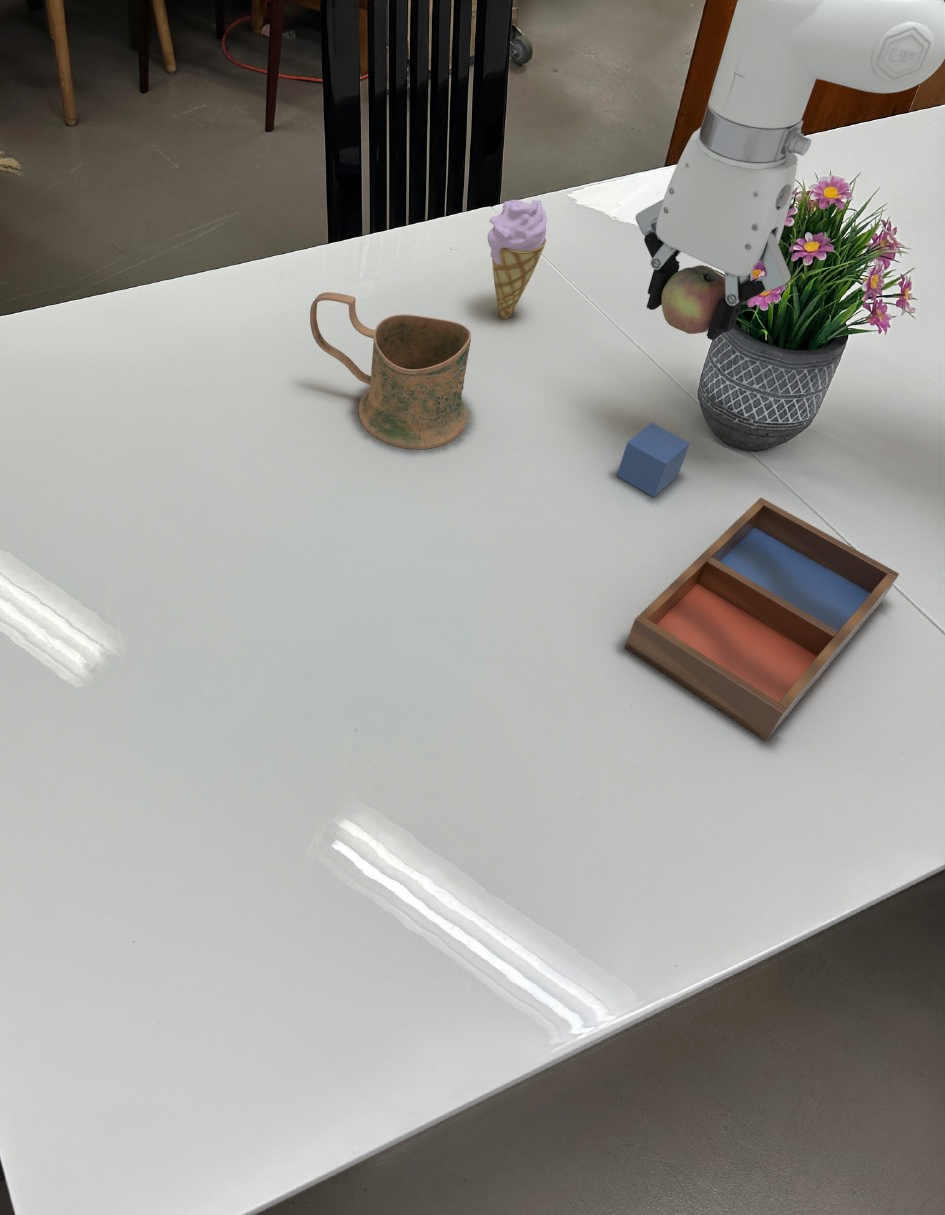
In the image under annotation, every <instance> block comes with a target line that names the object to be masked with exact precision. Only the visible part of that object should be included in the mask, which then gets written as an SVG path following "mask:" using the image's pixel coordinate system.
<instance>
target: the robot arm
mask: <svg viewBox="0 0 945 1215" xmlns="http://www.w3.org/2000/svg"><path fill="white" fill-rule="evenodd" d="M725 40H726V41H725V43H724V47H723V51H722V54H721V58H720V60H719V65H718V67H717V71H716V74H715V78H714V81H713V84H712V88H711V92H710V95H709V98H708V101H707V105H706V108H705V113H704V116H703V118H702V123H701V126H700V127H699V128H697V130H695V131H694V132H692V134H691V136H690V138H689V139H688V142H687V143H686V145H685V147H684V149H683V151H682V153H681V155H680V158H679V160H678V161H677V163H676V166H675V169H674V171H673V173H672V175H671V177H670V180H669V183H668V186H667V187H666V191H665V194H664V197H663V198H662V199H661V200H658V201H657V202H655V203H653V204H652V205H650V206H648V207H646V208H644V209H642V210H640V211H639V212H637V213H636V215H635V221H636V224H637V226H638V227H639V230H640V232H641V235H643V236H644V239H643V241H644V245H645V247H646V249H647V250H648V254H649V255H650V257H651V259H650V262H649V264H650V267H651V268H652V269H653V271H652V275H651V278H650V282H649V285H648V288H647V294H648V295H649V297H648V299H647V304H646V309H649V311H653V310H654V311H655V310H656V309H657V308H659V307H661V306H662V292H663V289H664V287H665V285H666V283H667V282H668V280H669V279H670V278H671V277H672V276H673V275H674V274H675V273H676V272H678V271H680V267H681V266H680V261H679V260H677V257H678V256H679V255H680V254H681V253H683V254H685V255H687V256H689V257H691V258H693V259H696V260H698V261H700V262H702V263H705V264H707V265H709V266H712V267H713V268H715V269H718V270H720V271H722V272H724V278H725V297H724V298H723V299H721V300H720V301H719V302H718V304H717V306H716V309H715V312H714V315H713V318H712V321H711V324H710V326H709V329H708V331H706V332H707V333H706V337H707V339H709V340H711V341H715V340H716V339H717V338H719V337H720V336H721V335H722V334H724V333H730V331H732V329H734V327H735V325H736V323H737V321H738V318H739V316H740V312H741V309H742V306H743V305H744V301H748V300H749V299H752V298H755V297H758V296H759V295H761V294H764V293H767V292H770V291H772V290H776V289H778V288H781V287H783V286H784V285H786V283H788V282H790V280H791V278H792V275H791V273H790V270H789V268H788V265H787V263H786V260H785V258H784V255H783V253H782V250H781V248H780V246H779V243H780V240H781V237H782V234H783V232H784V229H785V228H784V227H785V224H786V221H787V216H788V213H789V210H790V206H791V201H792V197H793V192H794V187H795V182H796V176H797V168H798V156H797V155H799V156H801V157H802V156H803V157H804V156H805V155H806V154H807V152H808V151H809V149H810V148H811V144H812V139H811V138H809V137H807V136H805V135H804V134H803V133H802V127H803V124H804V120H802V119H803V116H804V114H805V112H806V108H807V105H808V103H809V100H810V97H811V94H812V91H813V89H814V87H815V84H816V81H817V80H821V81H825V82H828V83H832V84H836V85H840V86H844V87H847V88H851V89H854V90H859V91H862V92H867V93H874V94H893V93H899V92H903V91H907V90H909V89H913V88H914V87H916V86H918V85H920V84H922V83H923V82H925V81H926V80H928V79H929V78H930V77H931V76H932V75H933V74H934V73H936V71H937V70H938V69H939V68H940V67H941V65H942V64H943V62H944V61H945V0H737V2H736V5H735V9H734V11H733V15H732V19H731V22H730V27H729V29H728V33H727V36H726V39H725ZM796 154H797V155H796ZM759 262H761V263H762V265H763V267H764V269H765V272H766V275H762V276H758V277H757V278H754V268H755V266H756V265H757V264H758V263H759Z"/></svg>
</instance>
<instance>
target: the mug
mask: <svg viewBox="0 0 945 1215" xmlns="http://www.w3.org/2000/svg"><path fill="white" fill-rule="evenodd" d="M322 301H328V302H329V301H331V302H336V303H341V304H346V305H347V306H348V316H349V320H350V323H351V326H352V327H353V329H355V330H356V332H358V333H359V334H360V335H363V336H365V337H366V338H371V339H373V345H372V357H371V371H370V374H367V373H365V372H364V371H362V370H361V368H359V367H358V365H357V364H356V363H355V362H354V361H353V360H352V359H351V358H350V357H349V356H348V355H346V354H345V353H344V352H343V351H341V350H339V349H338V348H336V347H335V346H333V345H332V344H330V343H329V342H328V341H326V340H325V338H324V337H323V336H322V334H321V331H320V329H319V324H318V317H317V316H318V315H317V314H318V312H317V311H318V310H317V309H318V304H319V303H320V302H322ZM309 324H310V330H311V334H312V337H313V339H314V342H315V343H316V344H317V346H318V347H319V348H320V349H321V351H324V352H325V353H326V354H327V355H329V356H331V357H333V358H335V359H336V360H338V361H339V362H340V363H342V364H343V365H344V366H345V367H346V368H347V370H348V371H350V373H351V374H352V375H353V376H354V377H355V378H356V379H357V380H358V381H360V382H362V383H364V384H366V385H369V389H367V390H366V391H365V392H364V394H362V396H361V398H360V401H359V403H358V416H359V420H360V422H361V424H362V426H363V427H364V429H365V430H366V431H367V432H368V433H369V434H370V435H372V436H373V437H374V438H375V439H377V440H379V441H381V442H384V443H385V444H388V445H391V446H394V447H397V448H401V449H410V450H427V449H435V448H438V447H441V446H445V445H446V444H449V443H451V442H452V441H454V440H455V439H456V438H458V437H459V436H460V435H461V434H462V433H463V431H464V430H465V428H466V424H467V420H468V412H467V410H468V409H467V407H466V404H465V402H464V401H463V400H462V396H463V390H464V388H465V387H464V385H465V375H466V372H467V365H468V359H469V354H470V353H469V352H470V346H471V342H472V339H471V338H472V332H471V331H470V329H469V328H468V327H467V326H466V325H463V324H461V323H459V322H457V321H452V320H447V319H443V318H435V317H429V316H424V315H423V316H422V315H415V314H395V315H391V316H388V317H386V318H383V319H382V320H381V321H380V322H379V323H378V324H377V325H376V327H375V329H372V328H370V327H367V326H366V325H364V324H363V323H362V322H361V321H360V320H359V317H358V315H357V310H356V297H355V296H352V295H349V294H344V293H339V292H331V291H330V292H322V293H320V294H318V295H317V296H316V297H315V298H314V300H313V301H312V303H311V306H310V312H309Z"/></svg>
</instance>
